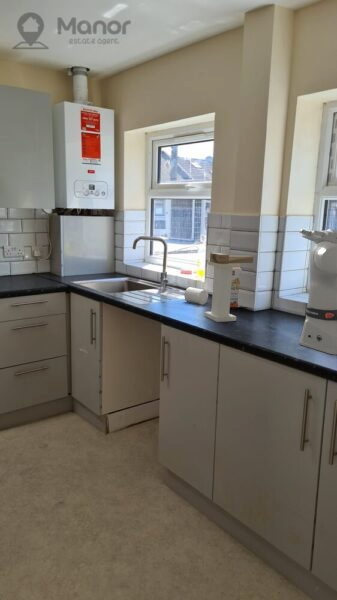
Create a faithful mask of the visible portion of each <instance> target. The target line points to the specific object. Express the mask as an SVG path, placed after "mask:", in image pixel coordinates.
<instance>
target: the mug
mask: <svg viewBox="0 0 337 600" xmlns="http://www.w3.org/2000/svg"><path fill="white" fill-rule="evenodd" d="M208 297H209V294H208V292H207V290H206V289H202V288H198V287H192V286H191V287H190V286H189V287H187V288H186V290H185V291H184V300H185V301H186V302H188V303H193V304H199V305H205V304H206V302H207V301H208Z"/></svg>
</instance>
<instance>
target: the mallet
mask: <svg viewBox="0 0 337 600" xmlns="http://www.w3.org/2000/svg"><path fill="white" fill-rule="evenodd" d="M209 261H210V262H213V263H218V264H228V263H237V264H253V263H254V256H252V255H230V254H229V253H228V254H227V253H222V252H210V253H209Z"/></svg>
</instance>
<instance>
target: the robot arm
mask: <svg viewBox="0 0 337 600" xmlns="http://www.w3.org/2000/svg"><path fill="white" fill-rule="evenodd" d="M299 234H301V237H302V238H304V239H306V240H309V241H311V242H314V244H316V245H314V246H313V247H312V249H311V251H310V255H309V257H310V258H309V289H308V290H309V291H308V299H307V304H306V308H305V315H306V316H305V320H304V323H303V327H302V332H301V335H300V338H299V340H298V345H300V346H303V347H307V348H310V349H312V350H317V351H320V352H322V353H327V354H330V355H335V356H336V355H337V230H334V229H331V228H327V229H324V230H314V229H302V228H300V229H299Z"/></svg>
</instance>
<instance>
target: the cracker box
mask: <svg viewBox="0 0 337 600" xmlns="http://www.w3.org/2000/svg"><path fill="white" fill-rule="evenodd" d="M241 273H242V269H241V268H233V269H232V283H231V296H230V308H238V307H237V306H238V293H239V285H240V282H241Z"/></svg>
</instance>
